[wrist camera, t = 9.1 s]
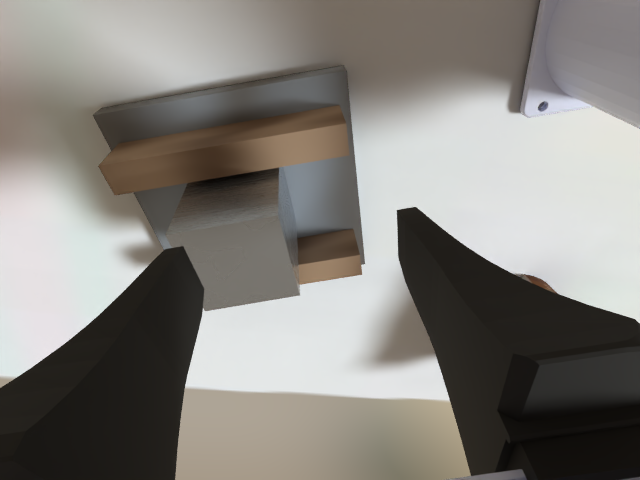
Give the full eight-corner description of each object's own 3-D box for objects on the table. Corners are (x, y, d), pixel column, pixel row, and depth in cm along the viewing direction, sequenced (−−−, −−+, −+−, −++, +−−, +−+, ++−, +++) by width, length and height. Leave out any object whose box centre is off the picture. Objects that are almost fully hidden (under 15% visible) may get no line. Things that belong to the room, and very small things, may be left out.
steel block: (279, 151, 19) (277, 215, 14) (296, 221, 22) (300, 295, 17) (194, 166, 19) (165, 235, 14) (222, 234, 22) (205, 311, 17)
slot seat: (343, 65, 18) (354, 85, 15) (362, 254, 25) (372, 291, 22) (101, 108, 18) (68, 135, 15) (189, 282, 25) (178, 322, 23)
